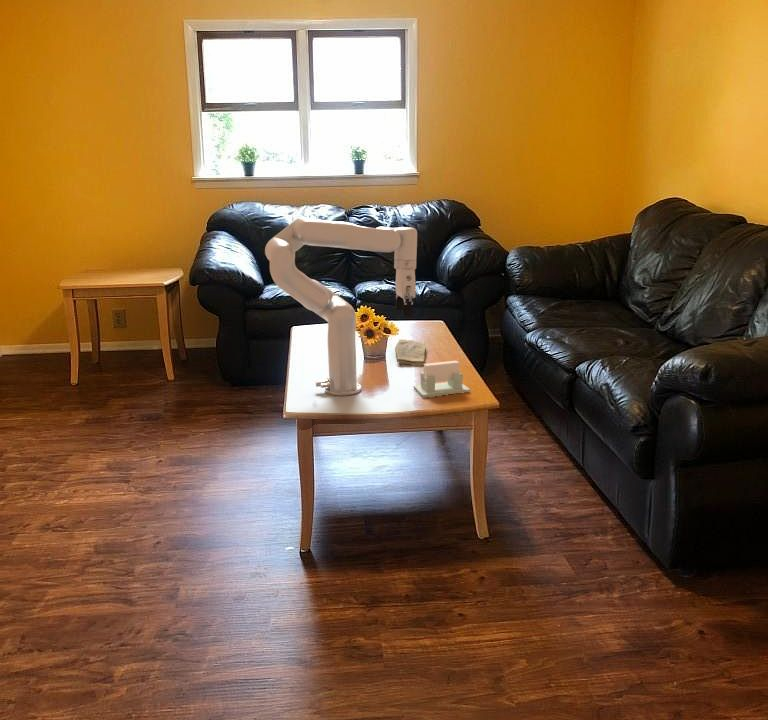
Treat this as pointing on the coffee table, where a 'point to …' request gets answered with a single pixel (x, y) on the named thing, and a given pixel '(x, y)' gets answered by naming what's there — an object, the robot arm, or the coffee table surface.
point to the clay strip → (441, 370)
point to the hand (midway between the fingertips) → (403, 313)
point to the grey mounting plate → (440, 386)
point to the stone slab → (410, 352)
